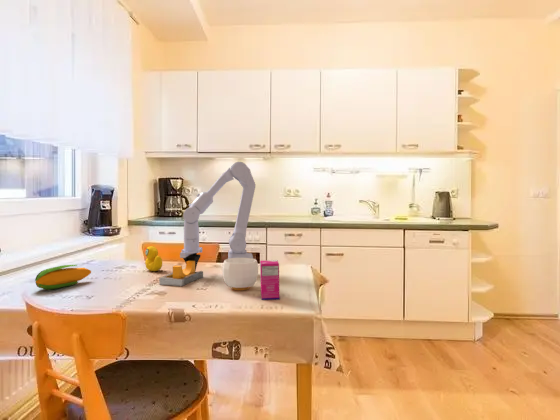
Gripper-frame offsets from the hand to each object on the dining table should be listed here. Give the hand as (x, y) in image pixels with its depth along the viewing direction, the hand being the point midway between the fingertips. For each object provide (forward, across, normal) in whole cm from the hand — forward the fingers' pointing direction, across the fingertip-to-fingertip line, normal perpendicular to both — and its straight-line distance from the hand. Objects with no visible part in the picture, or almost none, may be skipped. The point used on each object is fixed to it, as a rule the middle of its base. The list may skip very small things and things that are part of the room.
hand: (191, 273), depth 161 cm
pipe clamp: (+1, +8, 0) cm, 8 cm away
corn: (+1, +27, -35) cm, 44 cm away
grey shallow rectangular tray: (+1, +8, 0) cm, 9 cm away
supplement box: (+1, +20, +38) cm, 43 cm away
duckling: (+1, -4, -20) cm, 21 cm away
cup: (+1, +12, +25) cm, 28 cm away
